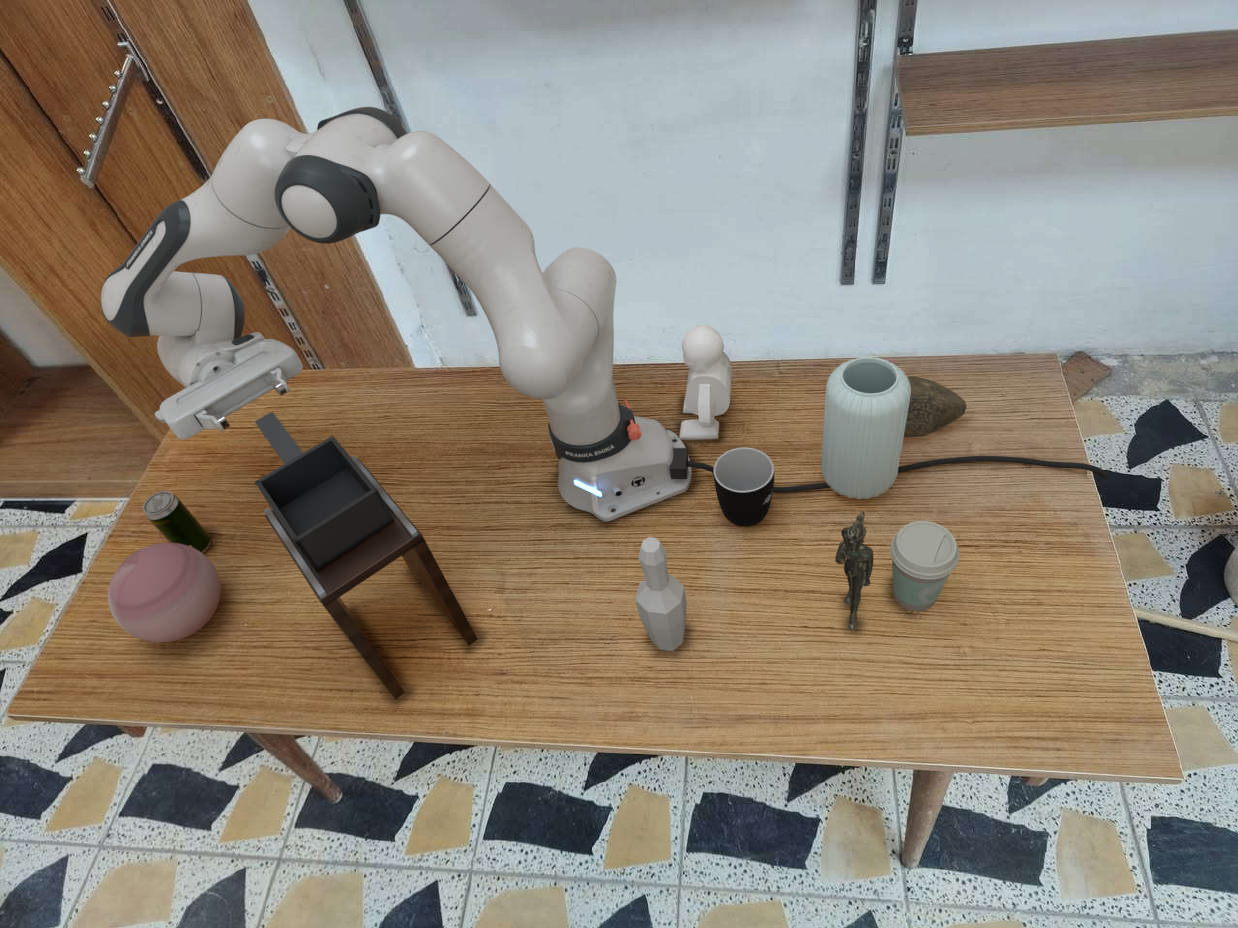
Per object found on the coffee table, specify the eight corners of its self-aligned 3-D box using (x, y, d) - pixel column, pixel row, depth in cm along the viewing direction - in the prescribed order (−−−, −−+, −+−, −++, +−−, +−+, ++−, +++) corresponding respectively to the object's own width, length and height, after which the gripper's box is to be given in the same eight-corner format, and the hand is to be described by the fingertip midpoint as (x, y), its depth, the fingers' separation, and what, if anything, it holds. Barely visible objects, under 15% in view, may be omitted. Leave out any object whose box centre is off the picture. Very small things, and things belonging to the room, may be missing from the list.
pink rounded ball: (143, 602, 133) (86, 548, 122) (233, 564, 136) (186, 508, 125) (145, 676, 124) (84, 625, 113) (243, 634, 126) (192, 580, 115)
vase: (812, 498, 128) (818, 396, 112) (829, 446, 135) (836, 342, 118) (888, 514, 124) (905, 410, 108) (901, 459, 131) (919, 354, 114)
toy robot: (685, 391, 148) (675, 302, 133) (735, 391, 146) (730, 301, 132) (677, 448, 139) (666, 359, 125) (730, 448, 137) (725, 359, 123)
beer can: (212, 552, 139) (174, 508, 130) (181, 563, 138) (140, 520, 129) (212, 529, 142) (175, 485, 133) (181, 540, 141) (142, 496, 133)
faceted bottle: (676, 663, 113) (660, 574, 96) (637, 644, 115) (615, 554, 99) (698, 627, 116) (686, 535, 100) (660, 610, 119) (641, 517, 102)
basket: (394, 520, 102) (377, 489, 98) (316, 571, 98) (294, 542, 94) (317, 425, 116) (299, 395, 112) (246, 467, 113) (224, 437, 108)
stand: (478, 639, 120) (419, 529, 100) (395, 699, 115) (316, 597, 95) (419, 566, 130) (356, 453, 111) (342, 618, 126) (261, 511, 106)
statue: (828, 632, 112) (835, 547, 98) (832, 593, 116) (840, 506, 102) (863, 638, 111) (876, 552, 96) (866, 598, 115) (880, 511, 100)
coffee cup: (911, 630, 111) (922, 581, 102) (870, 586, 116) (877, 535, 107) (960, 601, 113) (976, 551, 104) (918, 558, 118) (929, 507, 109)
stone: (951, 398, 138) (959, 363, 132) (969, 436, 132) (978, 400, 126) (850, 412, 139) (853, 377, 133) (863, 449, 133) (867, 415, 127)
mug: (770, 537, 124) (769, 495, 117) (712, 530, 127) (708, 488, 119) (780, 478, 132) (780, 435, 124) (725, 472, 134) (722, 430, 127)
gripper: (138, 395, 117) (171, 430, 108) (266, 325, 125) (306, 352, 117) (163, 429, 121) (196, 465, 112) (285, 359, 129) (325, 387, 121)
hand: (254, 406), depth 114 cm, fingers open, 8 cm apart
